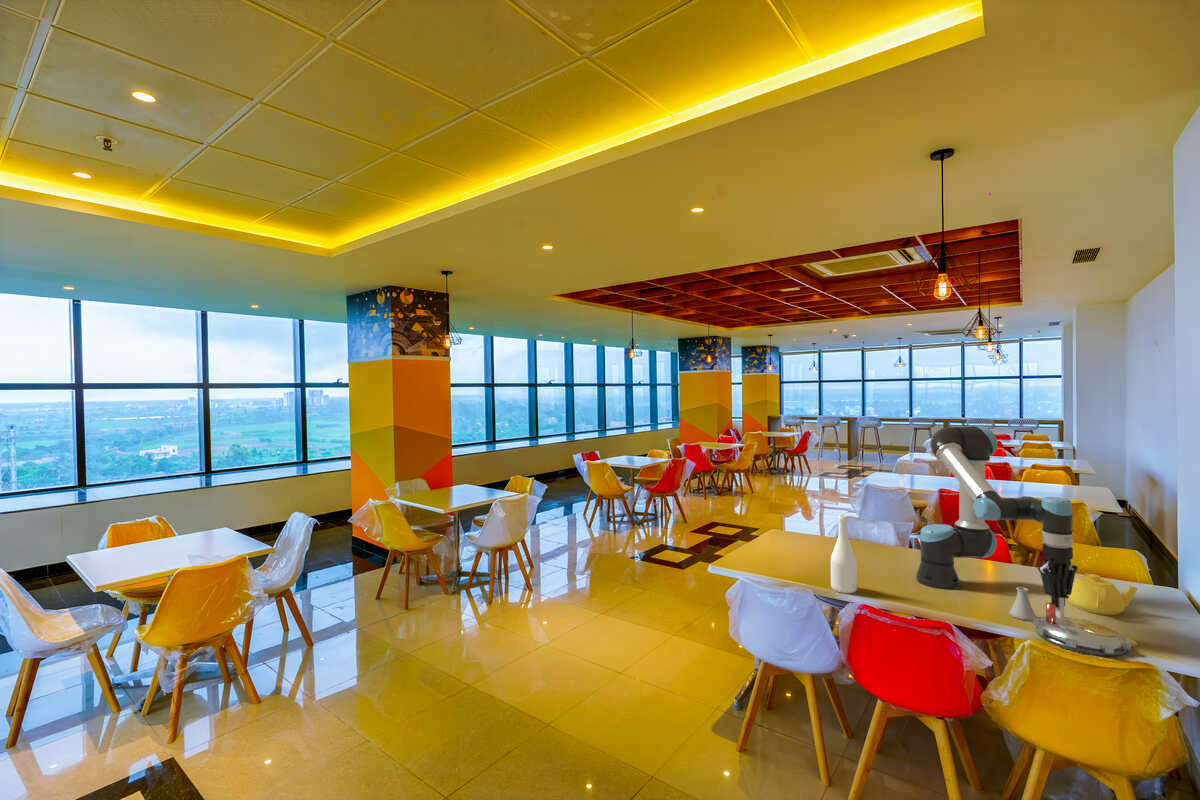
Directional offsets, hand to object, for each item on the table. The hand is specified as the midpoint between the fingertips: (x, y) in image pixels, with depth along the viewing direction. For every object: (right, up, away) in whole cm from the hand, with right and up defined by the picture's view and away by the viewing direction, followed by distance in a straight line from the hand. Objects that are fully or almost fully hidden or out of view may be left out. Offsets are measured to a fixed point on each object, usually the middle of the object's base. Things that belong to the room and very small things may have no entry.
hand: (1058, 616), depth 172 cm
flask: (-3, -5, +11) cm, 12 cm away
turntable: (+1, -4, -6) cm, 7 cm away
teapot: (+29, -4, +18) cm, 34 cm away
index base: (+3, -5, -7) cm, 9 cm away
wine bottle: (-53, -6, +39) cm, 66 cm away
